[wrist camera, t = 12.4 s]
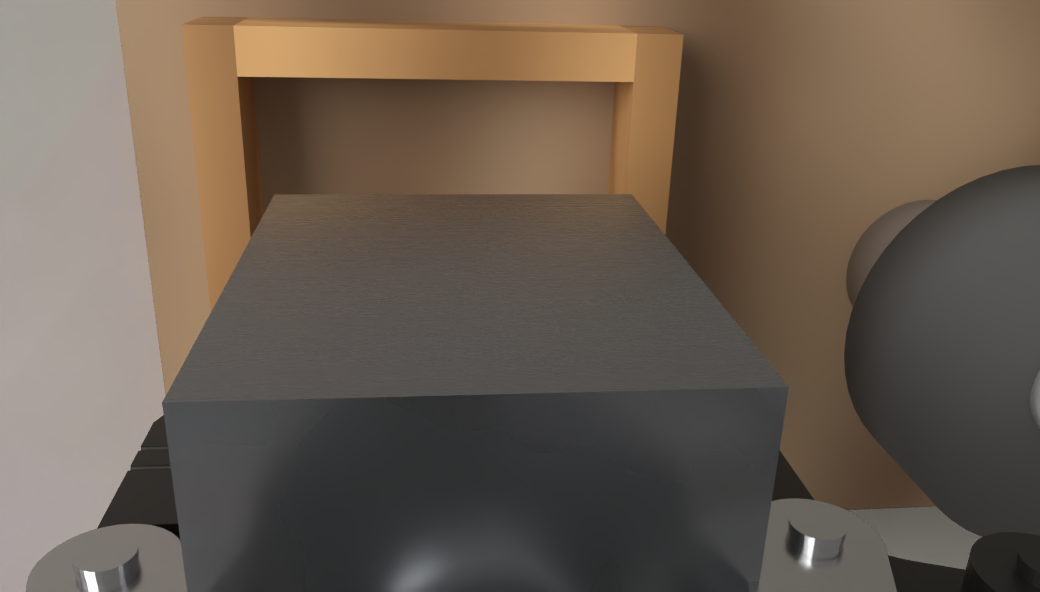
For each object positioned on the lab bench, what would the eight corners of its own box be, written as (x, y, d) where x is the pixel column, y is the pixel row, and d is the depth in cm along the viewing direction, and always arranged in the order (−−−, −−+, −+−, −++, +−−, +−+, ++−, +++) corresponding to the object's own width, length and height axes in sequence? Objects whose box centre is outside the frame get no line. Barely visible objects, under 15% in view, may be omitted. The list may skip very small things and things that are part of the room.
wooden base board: (198, 497, 21) (145, 636, 17) (133, -61, 17) (41, -59, 13) (1007, 468, 23) (1136, 583, 19) (1137, -30, 19) (1341, -21, 15)
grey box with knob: (303, 581, 14) (214, 1086, 8) (274, 195, 12) (120, 481, 6) (604, 567, 14) (739, 1031, 8) (631, 194, 12) (847, 456, 6)
